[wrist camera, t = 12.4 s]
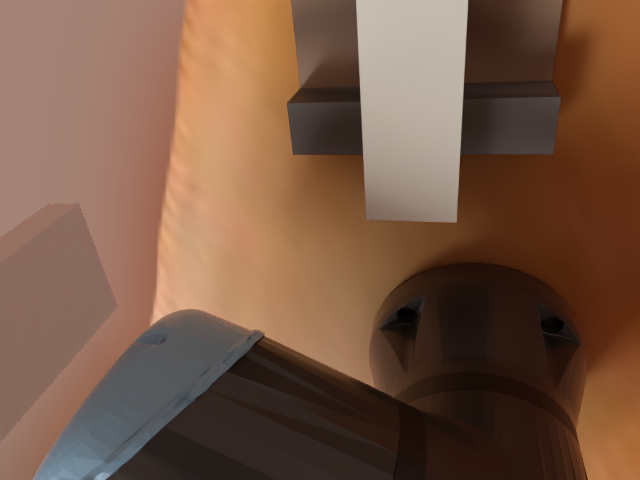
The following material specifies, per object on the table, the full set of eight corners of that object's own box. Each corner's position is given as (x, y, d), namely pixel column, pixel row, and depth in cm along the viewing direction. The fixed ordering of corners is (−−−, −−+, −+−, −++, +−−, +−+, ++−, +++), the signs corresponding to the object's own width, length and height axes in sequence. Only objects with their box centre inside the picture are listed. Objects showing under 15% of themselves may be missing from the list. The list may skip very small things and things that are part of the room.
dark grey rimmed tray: (542, 128, 31) (553, 154, 28) (309, 130, 34) (293, 154, 31) (574, -120, 25) (592, -125, 21) (286, -89, 28) (263, -89, 25)
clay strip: (456, 187, 30) (456, 222, 26) (376, 186, 31) (366, 219, 27) (474, -171, 22) (477, -186, 18) (364, -157, 23) (348, -168, 19)
